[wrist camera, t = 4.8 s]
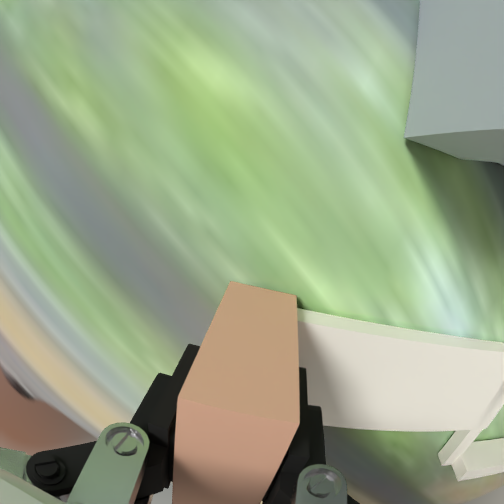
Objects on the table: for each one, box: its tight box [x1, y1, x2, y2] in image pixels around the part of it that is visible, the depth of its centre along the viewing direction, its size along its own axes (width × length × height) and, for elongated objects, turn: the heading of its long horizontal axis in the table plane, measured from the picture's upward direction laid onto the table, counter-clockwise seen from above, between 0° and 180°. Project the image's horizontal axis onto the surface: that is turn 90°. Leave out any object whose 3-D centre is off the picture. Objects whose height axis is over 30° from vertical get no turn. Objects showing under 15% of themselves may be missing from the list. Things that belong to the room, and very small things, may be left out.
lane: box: [172, 281, 504, 504], centre depth 9 cm, size 11×26×6 cm, turn 79°
